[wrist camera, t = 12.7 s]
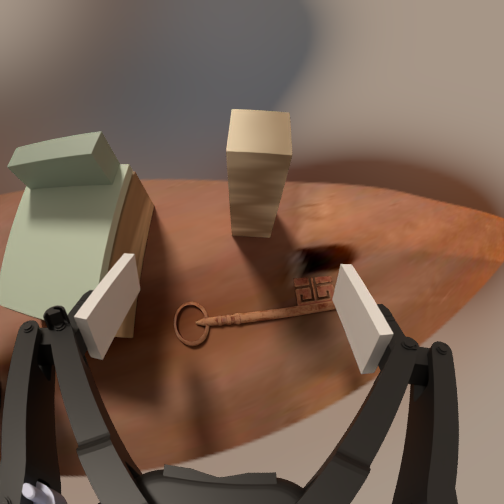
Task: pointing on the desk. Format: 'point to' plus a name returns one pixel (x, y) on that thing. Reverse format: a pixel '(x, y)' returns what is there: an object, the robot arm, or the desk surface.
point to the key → (270, 314)
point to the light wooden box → (131, 239)
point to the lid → (62, 222)
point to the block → (257, 169)
